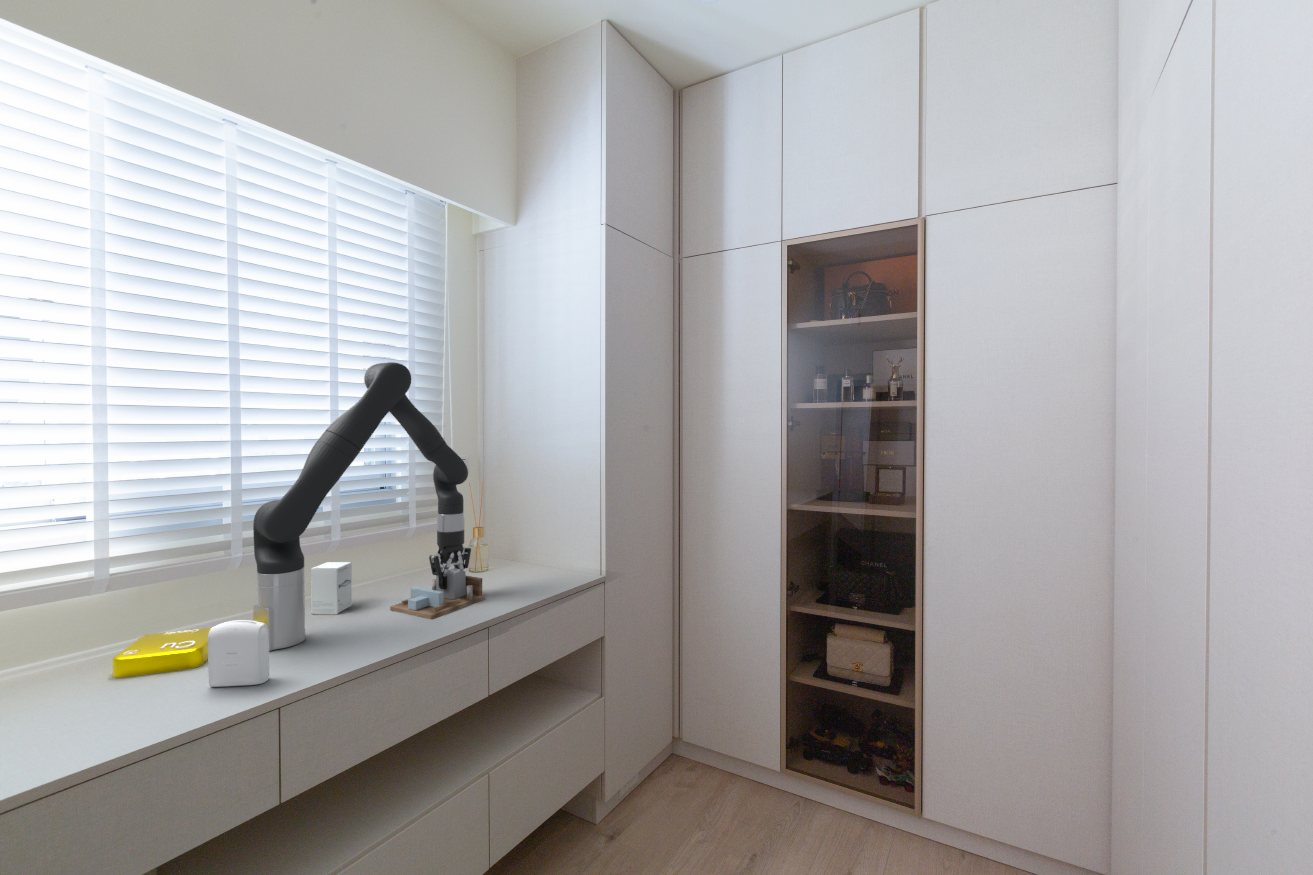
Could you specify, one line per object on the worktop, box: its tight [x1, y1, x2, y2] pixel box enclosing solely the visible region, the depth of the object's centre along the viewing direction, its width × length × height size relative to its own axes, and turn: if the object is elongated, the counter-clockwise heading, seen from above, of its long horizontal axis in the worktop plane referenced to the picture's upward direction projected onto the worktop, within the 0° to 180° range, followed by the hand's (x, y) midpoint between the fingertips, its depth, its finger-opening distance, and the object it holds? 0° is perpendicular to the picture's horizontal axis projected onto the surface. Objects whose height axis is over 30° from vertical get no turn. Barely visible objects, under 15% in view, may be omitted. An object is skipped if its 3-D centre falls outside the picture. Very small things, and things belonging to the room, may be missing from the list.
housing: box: [389, 575, 486, 620], centre depth 161 cm, size 20×16×6 cm
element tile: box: [112, 627, 212, 679], centre depth 123 cm, size 15×15×5 cm
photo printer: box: [207, 619, 270, 688], centre depth 112 cm, size 10×4×12 cm, turn 96°
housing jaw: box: [408, 586, 443, 610], centre depth 155 cm, size 6×11×4 cm, turn 63°
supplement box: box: [310, 561, 353, 615], centre depth 156 cm, size 7×7×13 cm
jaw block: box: [435, 567, 467, 600], centre depth 165 cm, size 4×7×8 cm, turn 63°
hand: (450, 586), depth 165 cm, fingers open, 5 cm apart
